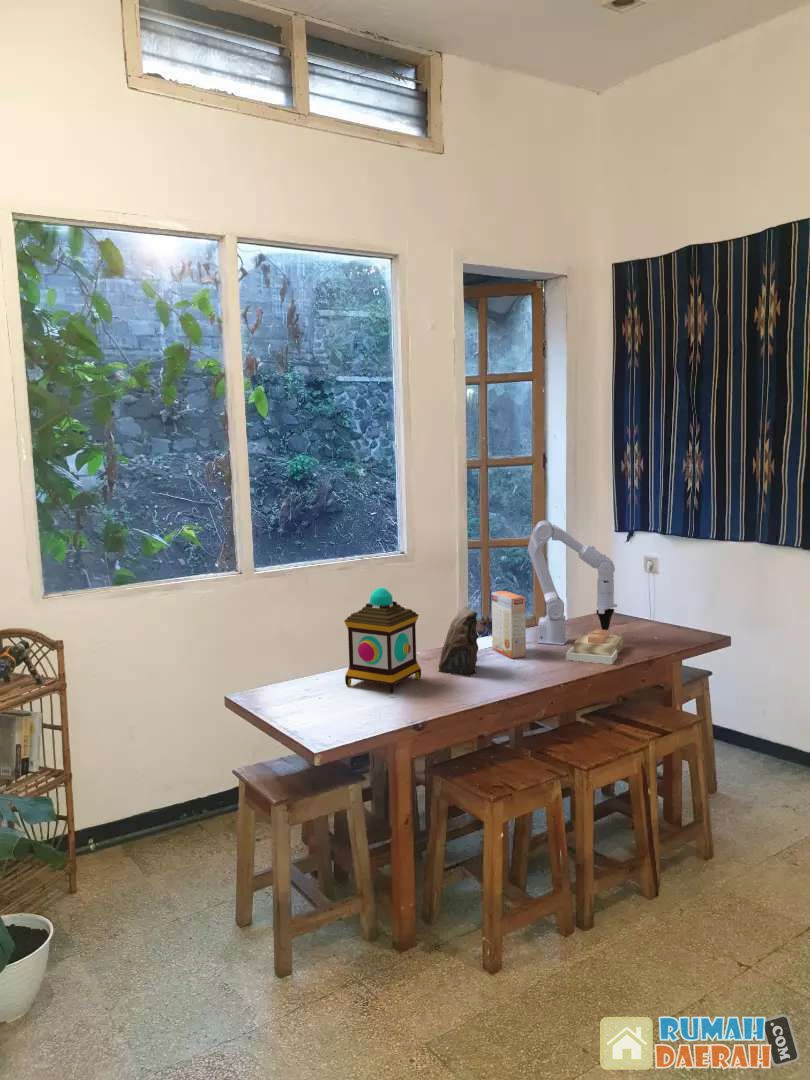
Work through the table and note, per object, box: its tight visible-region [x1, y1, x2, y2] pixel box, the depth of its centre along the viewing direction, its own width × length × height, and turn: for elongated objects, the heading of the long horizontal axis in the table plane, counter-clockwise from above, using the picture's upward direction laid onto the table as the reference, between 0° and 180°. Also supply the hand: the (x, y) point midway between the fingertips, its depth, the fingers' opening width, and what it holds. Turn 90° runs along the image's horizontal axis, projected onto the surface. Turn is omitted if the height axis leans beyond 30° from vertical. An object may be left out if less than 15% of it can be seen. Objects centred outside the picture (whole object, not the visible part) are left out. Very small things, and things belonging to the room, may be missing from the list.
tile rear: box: [591, 629, 610, 640], centre depth 287 cm, size 5×5×2 cm
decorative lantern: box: [344, 587, 422, 694], centre depth 253 cm, size 20×20×30 cm
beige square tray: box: [573, 632, 624, 656], centre depth 285 cm, size 14×14×4 cm
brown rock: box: [437, 605, 479, 677], centre depth 264 cm, size 13×13×20 cm
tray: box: [565, 646, 618, 665], centre depth 274 cm, size 15×9×2 cm, turn 65°
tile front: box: [588, 634, 606, 644], centre depth 281 cm, size 5×5×2 cm
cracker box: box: [491, 590, 527, 659], centre depth 283 cm, size 14×6×21 cm, turn 22°
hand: (605, 629), depth 294 cm, fingers closed
